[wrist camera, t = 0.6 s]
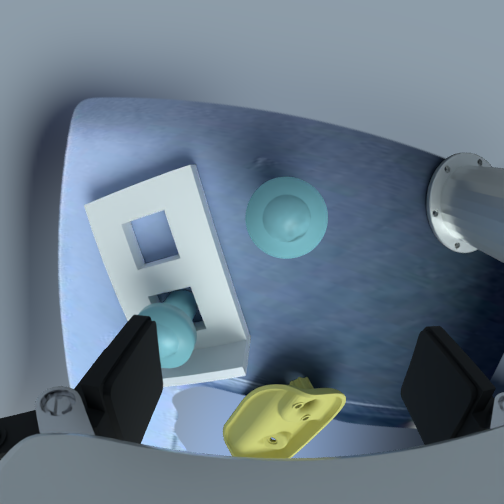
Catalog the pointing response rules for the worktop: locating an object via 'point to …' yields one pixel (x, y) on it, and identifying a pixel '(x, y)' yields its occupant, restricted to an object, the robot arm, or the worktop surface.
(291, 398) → the plastic component
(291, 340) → the worktop surface
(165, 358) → the teal flanged peg
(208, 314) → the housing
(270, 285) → the worktop surface
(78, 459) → the robot arm
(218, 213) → the worktop surface
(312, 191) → the teal round plug
